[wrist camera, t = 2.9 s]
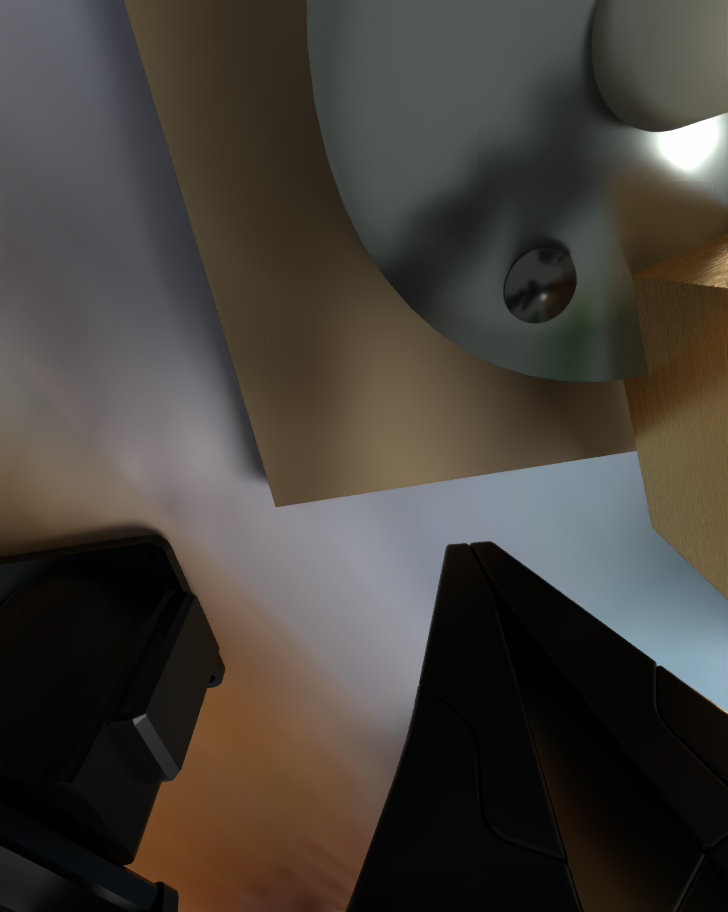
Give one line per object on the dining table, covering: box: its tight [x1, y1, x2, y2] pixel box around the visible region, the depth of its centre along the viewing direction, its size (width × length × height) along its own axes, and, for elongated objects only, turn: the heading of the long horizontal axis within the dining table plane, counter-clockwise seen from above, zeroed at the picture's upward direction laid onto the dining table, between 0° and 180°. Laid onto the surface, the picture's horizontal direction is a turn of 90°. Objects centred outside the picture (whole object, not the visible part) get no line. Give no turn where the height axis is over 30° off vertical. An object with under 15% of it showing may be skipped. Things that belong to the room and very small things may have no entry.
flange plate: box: [307, 0, 728, 600], centre depth 6 cm, size 14×10×3 cm
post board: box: [124, 0, 728, 507], centre depth 7 cm, size 16×15×5 cm
